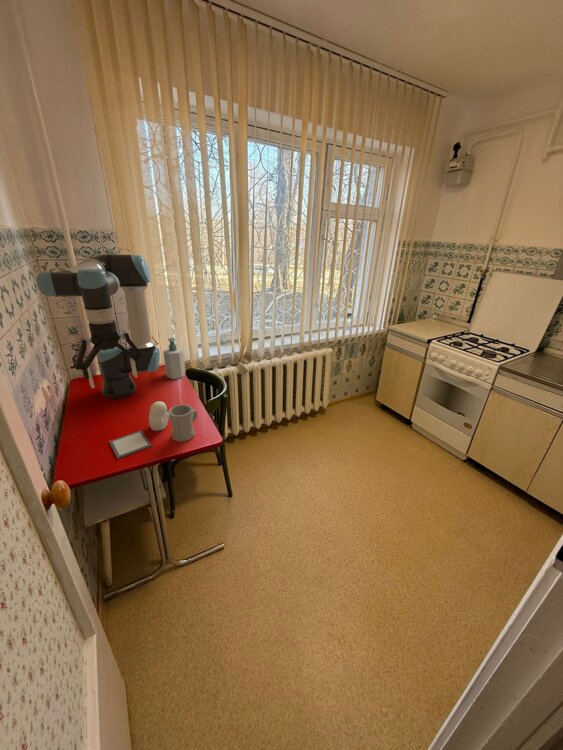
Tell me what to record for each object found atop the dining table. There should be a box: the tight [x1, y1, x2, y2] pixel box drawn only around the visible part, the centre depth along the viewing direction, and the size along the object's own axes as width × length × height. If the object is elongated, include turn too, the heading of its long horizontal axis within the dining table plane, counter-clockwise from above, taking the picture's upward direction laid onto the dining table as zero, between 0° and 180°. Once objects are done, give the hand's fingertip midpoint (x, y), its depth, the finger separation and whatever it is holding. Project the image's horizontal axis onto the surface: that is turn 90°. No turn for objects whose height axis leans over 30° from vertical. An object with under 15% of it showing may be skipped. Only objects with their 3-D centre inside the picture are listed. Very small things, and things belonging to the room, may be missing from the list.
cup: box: [168, 403, 198, 442], centre depth 120 cm, size 10×9×12 cm
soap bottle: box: [162, 337, 186, 380], centre depth 167 cm, size 10×9×22 cm
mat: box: [108, 430, 153, 460], centre depth 115 cm, size 12×12×1 cm
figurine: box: [148, 401, 170, 432], centre depth 124 cm, size 7×8×12 cm
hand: (114, 381), depth 104 cm, fingers open, 13 cm apart
